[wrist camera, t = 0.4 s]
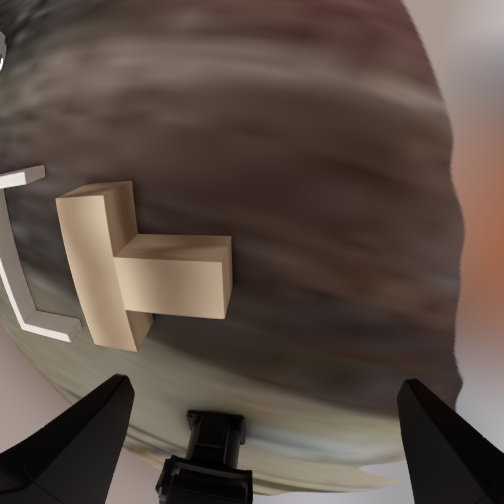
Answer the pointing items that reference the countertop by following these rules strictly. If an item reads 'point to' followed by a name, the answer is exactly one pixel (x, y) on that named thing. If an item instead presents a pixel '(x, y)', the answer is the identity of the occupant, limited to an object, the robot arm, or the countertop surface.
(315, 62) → the countertop surface
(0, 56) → the wine glass
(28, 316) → the bracket
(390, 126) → the countertop surface
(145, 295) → the t block
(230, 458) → the robot arm
